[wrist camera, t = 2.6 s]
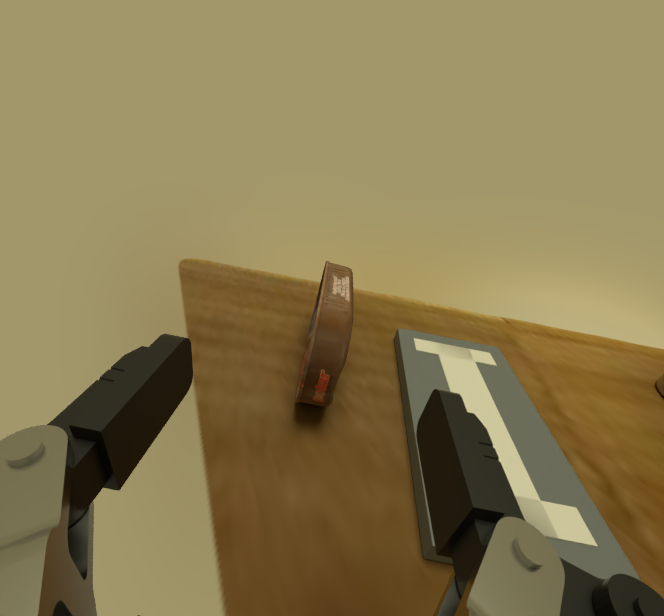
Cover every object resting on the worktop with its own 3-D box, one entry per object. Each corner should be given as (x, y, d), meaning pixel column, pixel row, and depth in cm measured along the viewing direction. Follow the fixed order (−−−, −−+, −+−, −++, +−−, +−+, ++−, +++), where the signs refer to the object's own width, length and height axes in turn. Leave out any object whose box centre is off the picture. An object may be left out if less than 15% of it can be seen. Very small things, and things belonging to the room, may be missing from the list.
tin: (312, 316, 35) (323, 246, 31) (339, 321, 35) (354, 252, 31) (288, 427, 22) (302, 333, 18) (331, 434, 22) (355, 342, 18)
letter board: (492, 358, 33) (498, 346, 33) (625, 597, 16) (646, 586, 15) (394, 338, 33) (398, 327, 33) (423, 558, 16) (433, 544, 15)
